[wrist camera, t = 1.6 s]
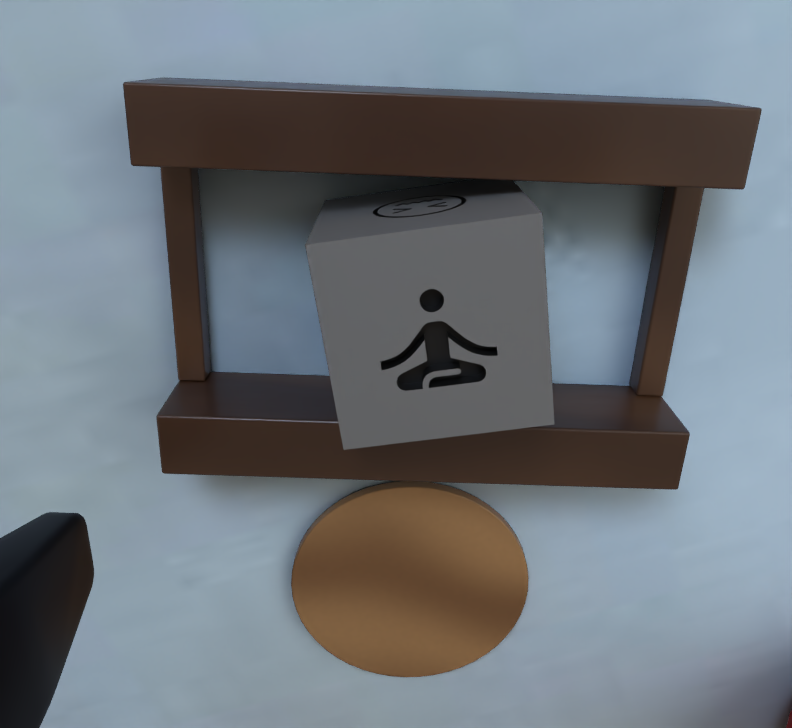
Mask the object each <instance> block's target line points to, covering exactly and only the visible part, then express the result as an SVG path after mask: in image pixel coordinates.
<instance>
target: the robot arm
mask: <svg viewBox="0 0 792 728" xmlns="http://www.w3.org/2000/svg"><path fill="white" fill-rule="evenodd" d="M93 578H94V566H93V560H92V554H91V548H90V542H89V536H88V531H87V525H86V522H85V520H84V518H83V516H81V515H80V514H78V513H58V512H49V513H45V514H43V515H41V516H39V517H38V518H36V519H34V520H32V521H30V522H29V523H27V524H25V525H23V526H21V527H20V528H18V529H16V530H14V531H12V532H11V533H9V534H7V535H5V536H3V537H2V538H0V728H39V727H40V725H41V723H42V721H43V719H44V716H45V714H46V712H47V710H48V707H49V705H50V703H51V700H52V698H53V695H54V692H55V690H56V687H57V685H58V682H59V679H60V676H61V673H62V670H63V668H64V665H65V662H66V659H67V656H68V653H69V651H70V648H71V645H72V642H73V639H74V636H75V634H76V631H77V628H78V625H79V622H80V619H81V616H82V614H83V611H84V608H85V605H86V602H87V599H88V597H89V594H90V591H91V588H92V584H93Z"/></svg>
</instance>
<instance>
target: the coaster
mask: <svg viewBox="0 0 792 728" xmlns="http://www.w3.org/2000/svg"><path fill="white" fill-rule="evenodd" d="M291 586H292V596H293V600H294V603H295V607H296V610H297V612H298V614H299V617H300V619H301V621H302V623H303V624H304V626H305V627H306V629H307V630H308V632H309V633H310V634H311V635H312V636H313V638H314V639H315V640H316V641H317V642H318V643H319V644H320V645H321V646H322V647H324V648H325V649H326V650H327V651H328V652H330V653H331V654H333V655H334V656H336V657H337V658H339V659H341V660H342V661H344V662H346V663H348V664H350V665H353V666H355V667H357V668H360V669H362V670H366V671H369V672H373V673H377V674H382V675H388V676H398V677H421V676H429V675H436V674H440V673H445V672H449V671H452V670H455V669H458V668H461V667H463V666H465V665H467V664H469V663H472V662H474V661H476V660H477V659H479V658H481V657H482V656H484V655H486V654H487V653H488V652H490V651H491V650H492V649H493V648H495V647H496V646H497V645H498V644H499V643H500V642H501V641H502V640H503V639H504V638H505V637H506V636H507V635H508V633H509V632H510V631H511V630H512V628H513V627H514V626H515V624H516V622H517V620H518V618H519V617H520V615H521V612H522V610H523V607H524V604H525V601H526V596H527V592H528V570H527V564H526V560H525V556H524V553H523V549H522V547H521V544H520V542H519V540H518V538H517V536H516V534H515V533H514V531H513V530H512V528H511V527H510V525H509V524H508V523H507V522H506V521H505V520H504V518H503V517H502V516H501V515H500V514H499V513H498V512H496V511H495V510H494V509H493V508H492V507H490V506H489V505H488V504H486V503H485V502H483V501H481V500H480V499H478V498H477V497H475V496H473V495H471V494H469V493H466V492H464V491H462V490H459V489H456V488H453V487H450V486H447V485H442V484H437V483H432V482H421V481H398V482H391V483H384V484H379V485H376V486H372V487H368V488H365V489H363V490H360V491H357V492H355V493H352V494H351V495H349V496H347V497H345V498H343V499H341V500H339V501H338V502H336V503H335V504H334V505H332V506H331V507H329V508H328V509H327V510H326V511H325V512H323V513H322V514H321V515H320V516H319V517H318V518H317V519H316V520H315V521H314V523H313V524H312V525H311V526H310V528H309V529H308V530H307V532H306V533H305V535H304V537H303V539H302V540H301V542H300V545H299V547H298V550H297V552H296V556H295V560H294V564H293V569H292V581H291Z"/></svg>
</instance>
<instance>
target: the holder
mask: <svg viewBox="0 0 792 728" xmlns="http://www.w3.org/2000/svg"><path fill="white" fill-rule="evenodd" d="M123 88H124V98H125V108H126V118H127V128H128V138H129V148H130V158H131V164H132V165H133V166H150V167H161V179H162V190H163V202H164V214H165V226H166V238H167V250H168V262H169V273H170V285H171V297H172V309H173V321H174V333H175V344H176V356H177V368H178V379H179V380H180V381H179V382H178V384H177V385H176V387H175V388H174V390H173V391H172V393H171V395H170V396H169V398H168V399H167V401H166V402H165V404H164V405H163V407H162V408H161V410H160V412H159V413H158V415H157V427H158V437H159V447H160V457H161V467H162V472H163V473H165V474H197V475H229V476H261V477H293V478H325V479H357V480H389V481H421V482H452V483H484V484H516V485H548V486H580V487H612V488H644V489H678V486H679V481H680V476H681V472H682V467H683V463H684V458H685V454H686V449H687V445H688V440H689V436H690V434H689V432H688V430H687V429H686V428H685V426H684V425H683V424H682V422H681V421H680V420H679V419H678V417H677V416H676V415H675V413H674V412H673V411H672V410H671V408H670V407H669V406H668V404H667V403H666V402H665V401H664V399H663V398H662V397H661V396H662V395H663V392H664V386H665V381H666V376H667V371H668V366H669V361H670V356H671V351H672V346H673V341H674V336H675V331H676V326H677V321H678V316H679V311H680V306H681V301H682V296H683V291H684V286H685V281H686V276H687V271H688V266H689V261H690V256H691V251H692V246H693V241H694V236H695V231H696V226H697V221H698V216H699V211H700V206H701V201H702V196H703V191H704V188H718V189H744V187H745V183H746V179H747V174H748V170H749V165H750V160H751V156H752V151H753V147H754V142H755V138H756V133H757V129H758V124H759V120H760V115H761V108H757V107H750V106H744V105H738V104H731V103H725V102H719V101H712V100H698V99H673V98H649V97H624V96H600V95H576V94H551V93H527V92H502V91H478V90H453V89H429V88H405V87H380V86H356V85H331V84H307V83H282V82H258V81H234V80H209V79H185V78H156V79H147V80H139V81H130V82H124V84H123ZM198 168H202V169H227V170H253V171H279V172H305V173H331V174H356V175H382V176H408V177H434V178H460V179H485V180H511V181H537V182H563V183H589V184H614V185H640V186H665V188H664V194H663V199H662V205H661V211H660V216H659V222H658V227H657V233H656V239H655V244H654V250H653V255H652V261H651V267H650V272H649V278H648V283H647V289H646V295H645V300H644V306H643V311H642V317H641V323H640V328H639V334H638V339H637V345H636V351H635V356H634V362H633V367H632V373H631V379H630V386H612V385H583V384H553V383H552V389H553V407H554V425H546V426H537V427H529V428H521V429H512V430H504V431H496V432H488V433H479V434H471V435H463V436H454V437H446V438H438V439H430V440H421V441H413V442H405V443H396V444H388V445H380V446H372V447H363V448H355V449H347V450H344V449H343V444H342V439H341V433H340V428H339V423H338V417H337V412H336V407H335V401H334V396H333V391H332V385H331V380H330V376H316V375H287V374H257V373H227V372H210V371H211V360H210V344H209V329H208V314H207V298H206V283H205V267H204V252H203V237H202V221H201V206H200V190H199V175H198Z"/></svg>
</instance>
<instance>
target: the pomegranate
mask: <svg viewBox="0 0 792 728" xmlns="http://www.w3.org/2000/svg"><path fill="white" fill-rule="evenodd" d="M786 728H792V710H791V711H790V714H789V719H788V723H787V726H786Z"/></svg>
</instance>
